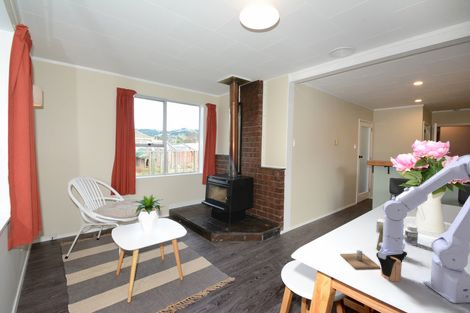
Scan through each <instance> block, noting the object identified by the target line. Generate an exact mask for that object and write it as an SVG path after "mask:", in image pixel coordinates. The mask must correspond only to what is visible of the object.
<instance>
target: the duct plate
mask: <svg viewBox="0 0 470 313" xmlns="http://www.w3.org/2000/svg"><path fill="white" fill-rule="evenodd" d="M339 255H341V256H342V257H341V256H340V257H341V258H342V259H343V260H345V261H346V262H347V263H348V264H349V266H351V267H352V268H353V269H354V270H364V269H365V270H367V269H368V270H369V269H381V265H380V264H378V263H376V262H375V261H374V260H372V259H371V258H370V257H369V256H367V255H366V254H365V253H364V252H363V251H362V250H360V249H357V250H356V252H355V253H340V254H339Z"/></svg>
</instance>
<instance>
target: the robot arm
mask: <svg viewBox="0 0 470 313" xmlns="http://www.w3.org/2000/svg"><path fill="white" fill-rule="evenodd" d="M466 179H467V180H468V181H469V182H470V154H465V155H462V156H460V157H458V158H457V159H456V160H453V161H450V162H449V163H448V164H447V165H446V166H445V167H443V168H442V169H441V170H439V171H437V173H435V174H434V175H432V176H431V177H430V178H428V179H427V180H425V181H424V182H422V184H420V185H419V186H409V187H405V188H404V189H403V191H402V193H400V194H398V195H397V196H393V197H391V200H387V201H386V202H384V205H383V206H382V210H383V212H384V216H383V219H384V223H383V243H379V246H381V249H380V251H377V252H376V258H377V259H378V262H379V266H380V270H381V269H382V273H383V275H386V276H388V277H390V276H391V273H392V268H393V265H394V263H395V262H396V261H397V260H395V259H393V258H391V257H394V258H397V259H398V260H400V261H401V263H402V264H403V261H404V259H405V258H406V257H407V255H408V252H407V251H404V249H405V248H406V245H405V244H406V243H405V242H404V232H405V229H404V227H405V224H404V220H405V219H406V217H407V215H408V213H409V212H411V211H413V210H414V209H416V208H417V207H419V206H420V205H422V204H424V203H425V202H427V201H428V198H429V197H428V196H429V194H432V193H433V192H434V191H437V190H439V189H440V188H441V187H443V186H445V185H447V184H449V183H450V182H452V181H454V180H466ZM430 247H431V250H432V251H433V253H434V255H433V256H432V259H431V270H430V280H424V281H422V283H423V284H424V285H425V286H427V287H428V288H430V289H432V290H433V291H434V292H436V294H438V295H440V296H441V297H443V298H444V299H445V300H447V301H448V302H451V303H452V304H460V303H461V304H462V303H465V304H466V303H470V274H469V272H467V271H466V270H465V268H466V267H467V266H468V264H469V259H468V256H469V255H470V195H469V196H468V198H467V199H466V201H465V203H464V204H463V206H462V207H461V209H460V211H459V212H458V214H457V215H456V217H455V219H454V220H453V222H452V223H451V225H450V226H449V228H448V229H447V231H445V232H442V233H441V234H440V236H438V237H437V238H435V239H433V240H432V242H431V246H430Z"/></svg>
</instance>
